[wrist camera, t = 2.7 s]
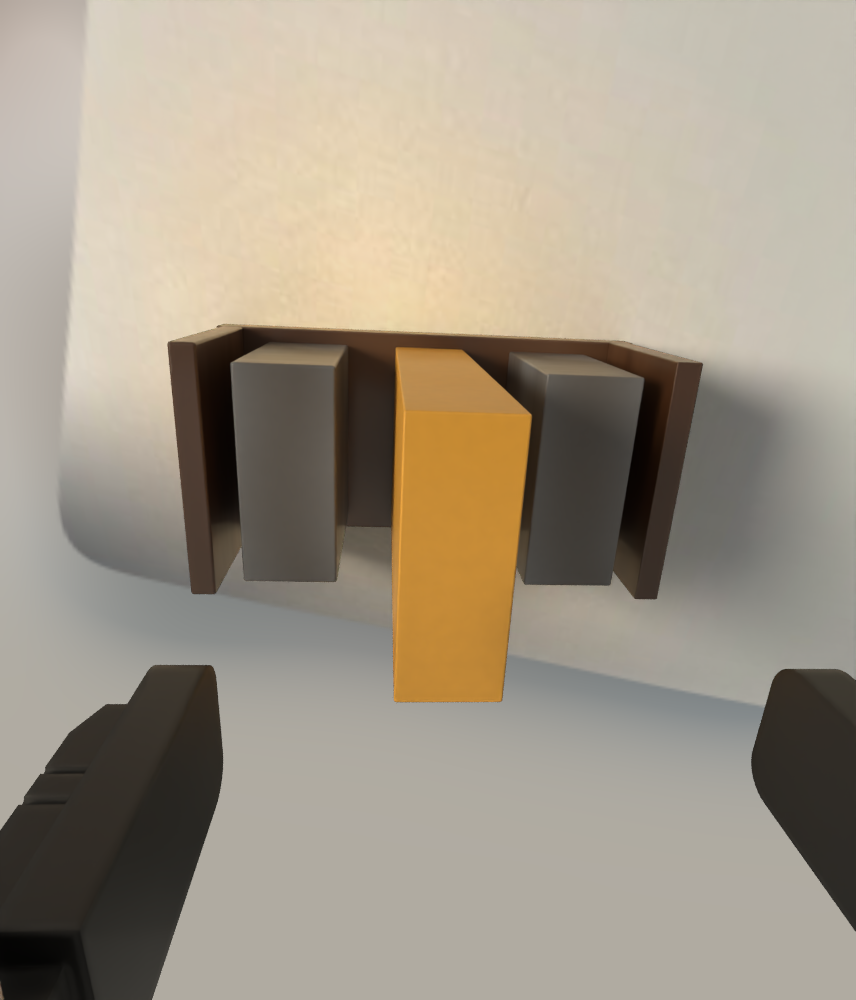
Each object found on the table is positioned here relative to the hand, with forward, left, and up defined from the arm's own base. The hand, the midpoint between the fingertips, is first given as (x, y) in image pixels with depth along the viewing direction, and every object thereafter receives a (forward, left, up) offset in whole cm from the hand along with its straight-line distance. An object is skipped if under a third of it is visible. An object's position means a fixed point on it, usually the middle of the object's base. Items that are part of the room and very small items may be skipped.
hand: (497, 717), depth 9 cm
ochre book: (0, 0, -17) cm, 17 cm away
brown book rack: (0, 0, -18) cm, 18 cm away
